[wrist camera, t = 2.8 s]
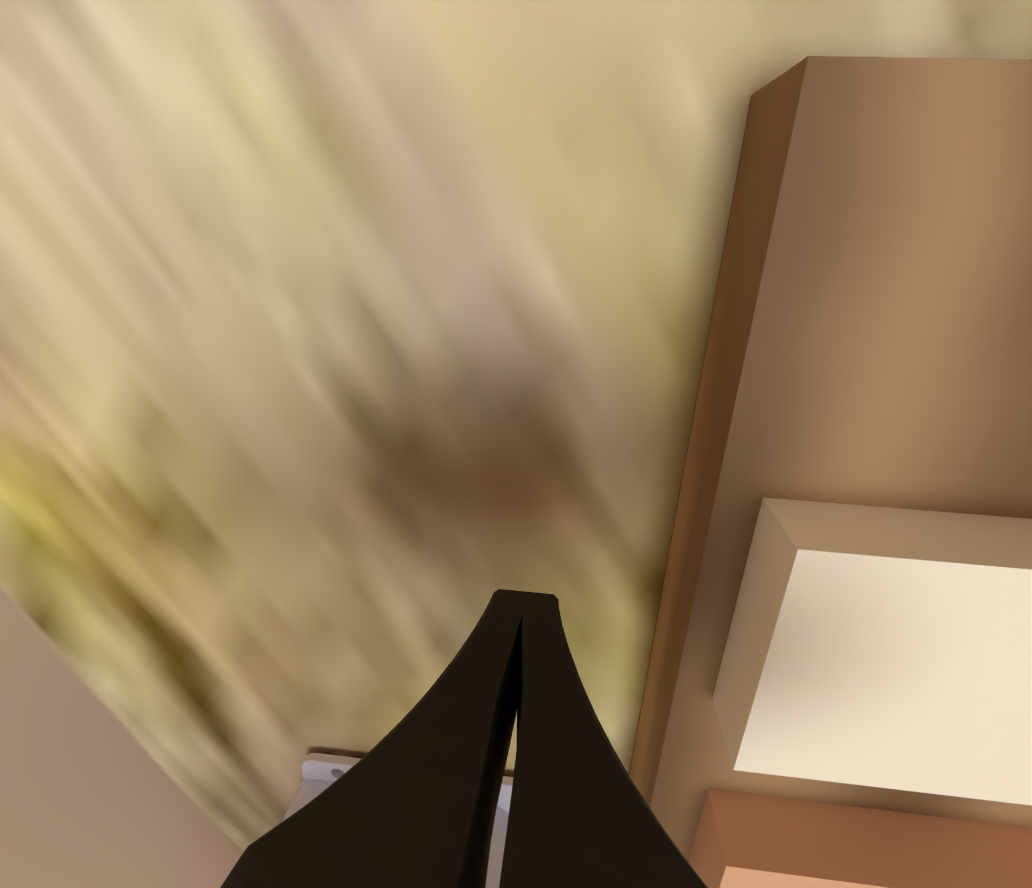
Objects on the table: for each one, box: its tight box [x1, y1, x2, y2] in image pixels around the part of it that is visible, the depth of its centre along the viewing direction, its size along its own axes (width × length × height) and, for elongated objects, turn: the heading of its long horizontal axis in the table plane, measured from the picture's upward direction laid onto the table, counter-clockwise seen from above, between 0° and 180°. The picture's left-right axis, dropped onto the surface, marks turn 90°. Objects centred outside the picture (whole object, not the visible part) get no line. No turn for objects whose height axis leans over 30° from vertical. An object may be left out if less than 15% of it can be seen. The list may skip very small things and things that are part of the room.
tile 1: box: [713, 497, 1032, 806], centre depth 12 cm, size 9×6×2 cm, turn 88°
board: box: [629, 56, 1032, 861], centre depth 14 cm, size 12×24×3 cm, turn 178°
